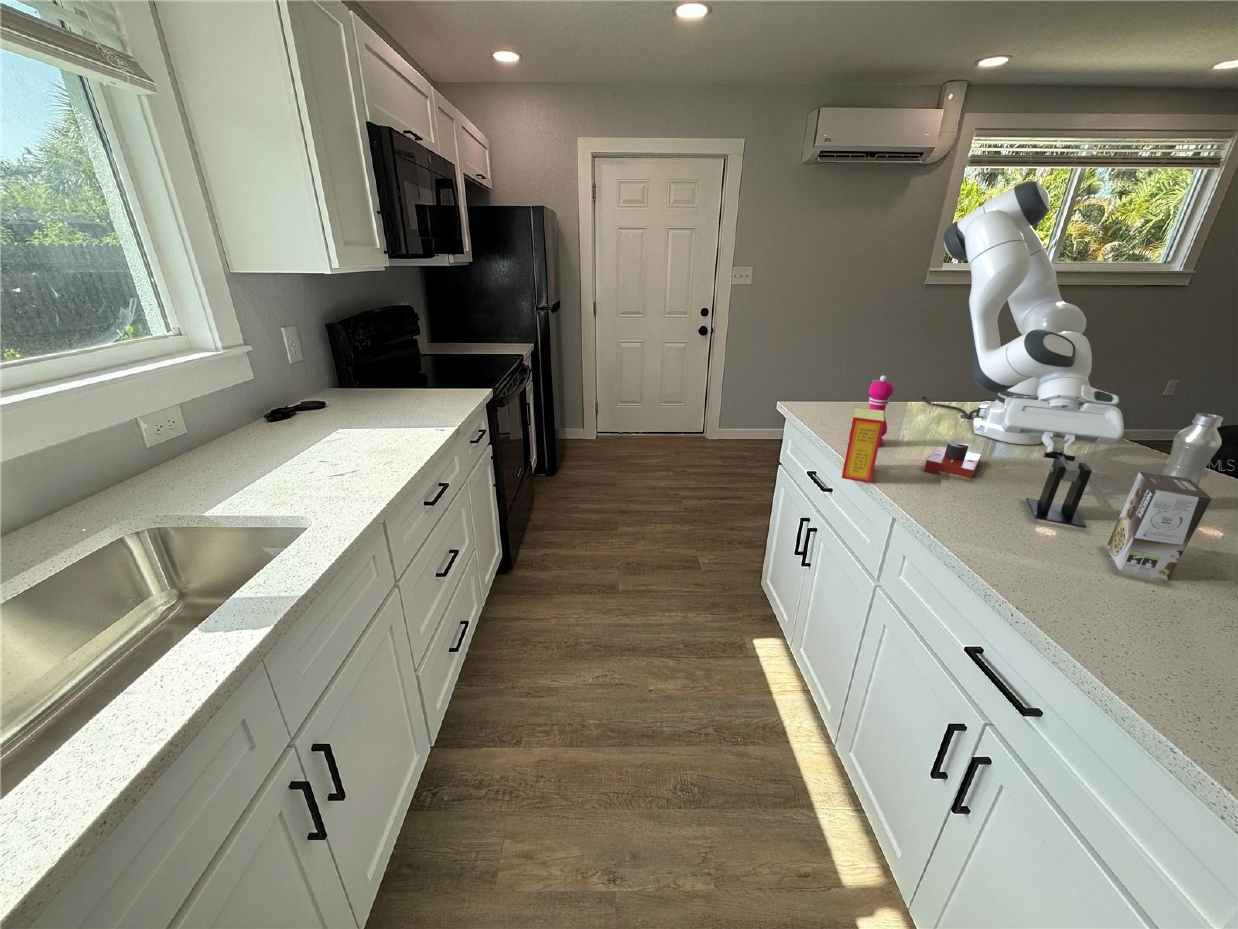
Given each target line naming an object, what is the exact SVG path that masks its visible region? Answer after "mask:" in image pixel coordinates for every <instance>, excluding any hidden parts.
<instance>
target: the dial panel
mask: <svg viewBox="0 0 1238 929" xmlns="http://www.w3.org/2000/svg"><path fill="white" fill-rule="evenodd" d="M946 448H947V447H945V446H940V445H939V446H938V445H937V446H936V447H935V448H934V449H933V451H932V452H931V453H930V455H929V456H928V458H927V459H926V462H925V465H924V470H923V471H924V472H927V473H932V474H935V475H936V474H937V475H941V474H940V472H942V473H946V474H952V475H955V476H956V475H957V476H960V477H964V478H970V479H972V478H973V476H974V474H975V472H976V470H977V467H978V466H979V464H980V462H981V458H982V454H979V453H974V452H969V451H967V453H966V457H965V459H964V460H952V459H949V458H947V457H945V456H944V455H945V451H946Z"/></svg>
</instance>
